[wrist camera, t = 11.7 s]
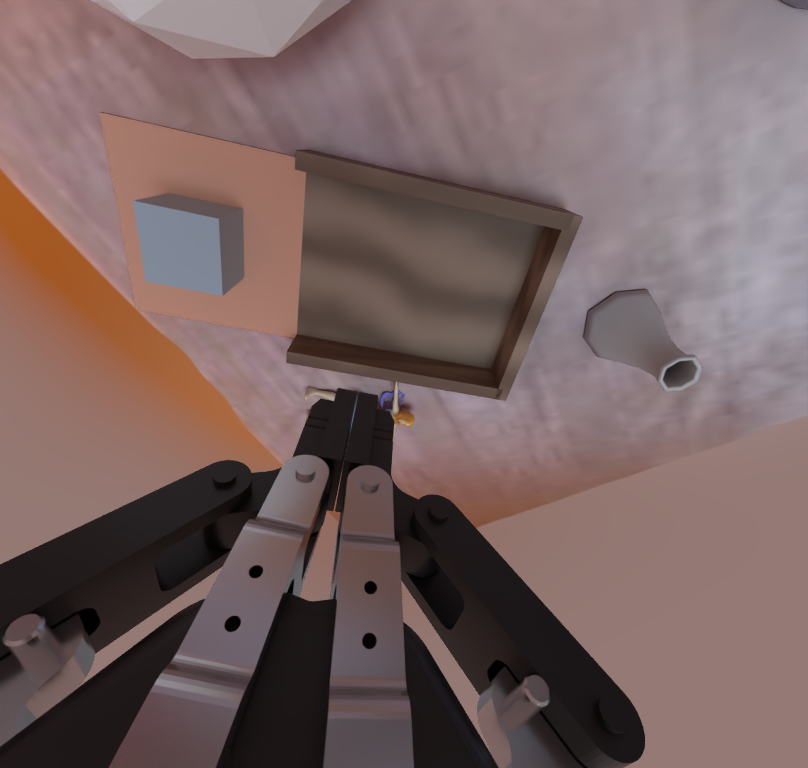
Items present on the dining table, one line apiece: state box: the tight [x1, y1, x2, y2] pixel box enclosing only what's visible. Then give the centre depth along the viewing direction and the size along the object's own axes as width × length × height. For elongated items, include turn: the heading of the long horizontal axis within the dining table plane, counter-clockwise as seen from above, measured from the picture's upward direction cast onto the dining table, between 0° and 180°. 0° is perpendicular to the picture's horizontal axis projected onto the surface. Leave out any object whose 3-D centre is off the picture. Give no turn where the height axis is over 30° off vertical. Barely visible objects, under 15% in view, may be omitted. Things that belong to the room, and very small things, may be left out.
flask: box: [584, 289, 703, 392], centre depth 34 cm, size 7×7×10 cm
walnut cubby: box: [286, 150, 583, 401], centre depth 34 cm, size 17×22×4 cm
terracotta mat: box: [100, 112, 306, 338], centre depth 34 cm, size 16×16×1 cm
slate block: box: [133, 193, 244, 296], centre depth 31 cm, size 6×6×5 cm
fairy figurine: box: [304, 382, 415, 442], centre depth 42 cm, size 12×5×12 cm
